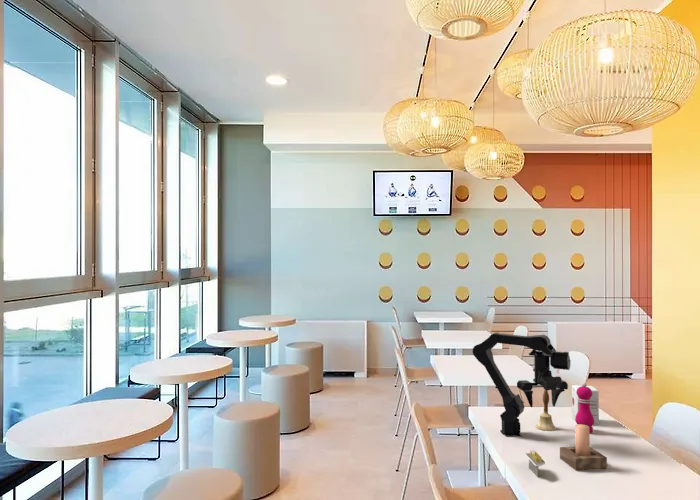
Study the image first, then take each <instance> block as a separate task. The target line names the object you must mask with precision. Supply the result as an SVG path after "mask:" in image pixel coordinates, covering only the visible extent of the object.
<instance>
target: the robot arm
mask: <svg viewBox="0 0 700 500" xmlns="http://www.w3.org/2000/svg"><path fill="white" fill-rule="evenodd" d="M498 344H503V345H514V346H521V347H522V346H523V347H527V348H529V349H531V351H530V352H529V353H528V355H529V356H534V357H533V360H534V361H533V362H534V363H533V365H534V368H533V367H532V371H533V372H534V378H533V379H532V380H533V382H531V381H529V380H525V379H524V380H518V381H517V382H516V387H517V389H519V390H521V391H522V392H523V393H524V396H525V397H526V400H527V402H528V404H529V407H531V408H533V393H534V391H533V388H543V390H547V391H551V404H552V405H551V406H552V407H555V406H556V404H557V403H558V402H557V401H558V398H559V396H560V394H562V393H563V392H565V390H568V389H569V385H568V382H567V381H566V380H563V379H562V377H561V376H553V374H552V370H550V369H551V368H550V366H551V367H552V368H553V369H555V370H556V369H557V370H564V371H565V370H566V371H570V369H571V363H572V362H571V361H572V360H571V358H570V352H568V351H557V350H556V349H555V347H554V346H553V345H552V343H551V339H550V337H549V336H547V335H545V334H535V335H519V334H509V333H507V334H506V333H500V332H494V333H491V334H490V335H489V336H488V338H486V339H485V340H483V341H482V342H481V343H478V344H476V345H474V346H473V347H472V355H473V356H474V357H475V359H476V360H477V361H478V362H479V363H480V364H481V365H482V366H483V367H484V368H485V370H486V371H487V372H486V373H488V375H489V377H490V379H491V380H492V383H493V384H494V386H495V388H496V390H497V391H498V392H499V394H500V396H501V398H502V405H503V407H504V411H503V412H502V413H500V415H499V416H500V420H501V429H500V430H499V431H500V432H501V434H503V435H504V436H505V437H517V436H518V437H521V436H522V434H521V422H520V419H519V417H520V415H521V414H522V413H524V410H525V405H524V404H525V401H523V399H522V398H521V395H520V394H519V393H518V394H515V393H514V392H513V391H512V390H511V387H510V386H509V385H508V383H507V381H506V379H505V378H504V376H503V374H502V373H501V371H500V369H499V367H498V365H497V364H496V362H495V360H494V354H493V352H492V349H493V348H494V347H495V346H496V345H498Z"/></svg>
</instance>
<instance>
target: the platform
mask: <svg viewBox="0 0 700 500" xmlns="http://www.w3.org/2000/svg"><path fill="white" fill-rule="evenodd" d="M525 456H526V458H528V464H529V465H528V466H529V467H528V468H529V469H530V470H531V472H532V473H533V474H534V475H535V477H537V478H539V468H540V467H542V466H544V465H546V462H545V460H544V459H542V456H541V455H540V454H539V453H538V452H537V451H536V450H533V451H532V450H530V451H529V453H528V452H526V453H525Z"/></svg>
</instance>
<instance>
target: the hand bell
mask: <svg viewBox="0 0 700 500" xmlns="http://www.w3.org/2000/svg"><path fill="white" fill-rule="evenodd" d="M543 390H544V391H543V394H542V402H543V412H542V413H540V415H539V420H538V422H537V423H536V424H535V428H536V429H538V430H540V431H545V430H546V431H547V432H548V431H549V432H551V431H552V430H554V431H556V430H557V427H556V426H555V424H554V422H553V419H552V415H551V414H549V401H550V395H549V392H548V391H549V390H545V389H543Z"/></svg>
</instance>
